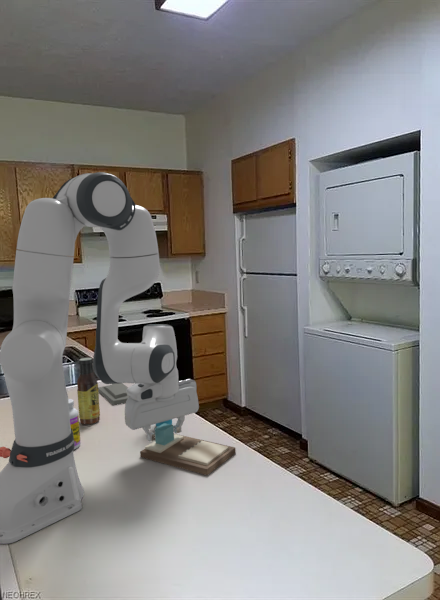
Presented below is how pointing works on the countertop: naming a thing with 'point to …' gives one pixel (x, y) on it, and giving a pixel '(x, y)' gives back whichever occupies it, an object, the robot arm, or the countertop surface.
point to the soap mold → (114, 393)
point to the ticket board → (192, 455)
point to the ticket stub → (164, 438)
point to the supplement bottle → (74, 423)
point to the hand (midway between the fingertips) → (164, 436)
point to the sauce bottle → (88, 393)
